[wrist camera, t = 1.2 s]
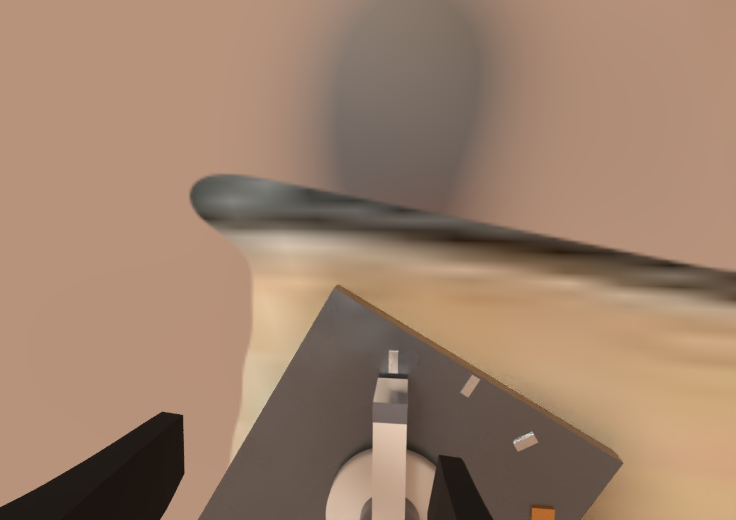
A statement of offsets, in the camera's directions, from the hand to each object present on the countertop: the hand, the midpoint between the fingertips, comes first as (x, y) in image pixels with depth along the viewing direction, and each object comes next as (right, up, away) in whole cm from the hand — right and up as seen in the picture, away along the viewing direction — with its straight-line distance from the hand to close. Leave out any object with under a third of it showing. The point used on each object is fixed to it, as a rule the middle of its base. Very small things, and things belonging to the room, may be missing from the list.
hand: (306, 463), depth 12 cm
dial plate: (+3, -8, +14) cm, 16 cm away
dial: (+3, -6, +12) cm, 14 cm away
